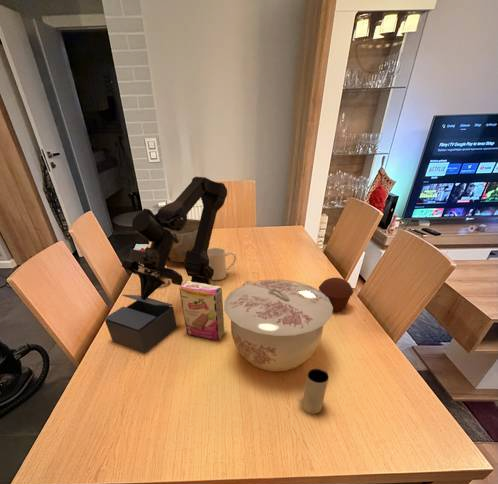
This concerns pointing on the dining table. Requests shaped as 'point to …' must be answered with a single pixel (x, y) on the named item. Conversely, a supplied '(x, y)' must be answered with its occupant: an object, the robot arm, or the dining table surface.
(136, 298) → the flap
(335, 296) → the muffin
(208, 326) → the candy bar box
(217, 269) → the mug
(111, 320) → the carton
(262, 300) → the chamber pot
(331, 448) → the dining table surface
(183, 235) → the bowl
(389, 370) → the dining table surface
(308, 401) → the grey black-topped cylinder
